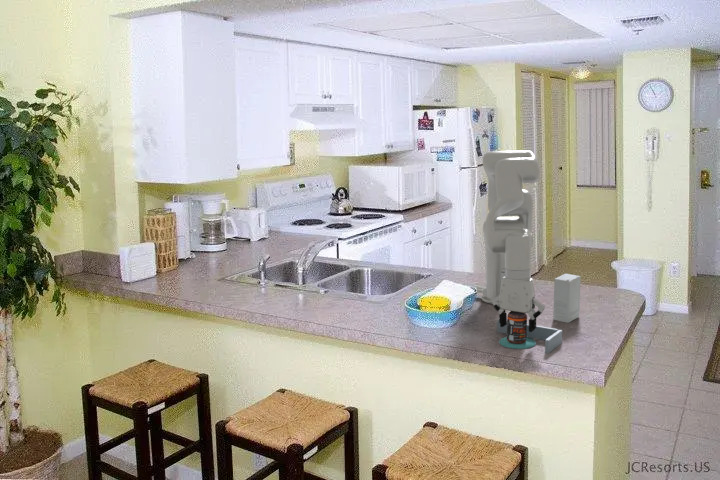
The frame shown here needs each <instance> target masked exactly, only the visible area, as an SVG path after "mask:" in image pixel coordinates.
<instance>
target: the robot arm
mask: <svg viewBox="0 0 720 480" xmlns="http://www.w3.org/2000/svg"><path fill="white" fill-rule="evenodd" d="M482 166H483V167H482V168H483V170H484V171H485V174H486V177H487V180H488V181H487V183H488V185H487V187H488V190H487V209H488V213H487V215H486V218H485V221H484V222H483V225H482V232H483V239H484V248H485V287H483V286H476V293H479V294H482V295H481V301H482V302H484V303H487V304H491V305H492V306H493V308H494V309H495V310H496V312H497V314H498V315H499V317H498V318H499V323H500V327H504V326H505V325H506V324H507V316H508V312H510V311H514V312H521V313H526V314H527V316H528V317H529V319H528V324H529V332H532V331H534V330H535V329H536V326H537V318H538V317H539V316H540V315H541V314H543V311H544V310H545V308H546V305H545V304H543V303H542V302H540V301H539V300H537V299H536V293H535V290H536V289H535V285H534V280H533V278H531V274H532V273H531V272H532V270H531V266H532V265H531V262H532V261H531V260H532V259H531V258H532V256H531V252H532V247H533V245H534V235H533V234H532V226H533V212H534V211H533V210H534V209H533V208H534V201H533V196H532V193H531V192H530V191H529V190H527V189H524V188H523V184H536V183H537V182H538V181H539V180H540V177H541V166H540V163H539V161H538V158H537V156H536V155H535V153H534V152H533V151H531V150H526V149H525V150H493V151H488V152H486V153H485V152H484V154H483V156H482ZM536 307H537V310H535V309H536ZM506 311H508V312H506Z"/></svg>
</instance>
